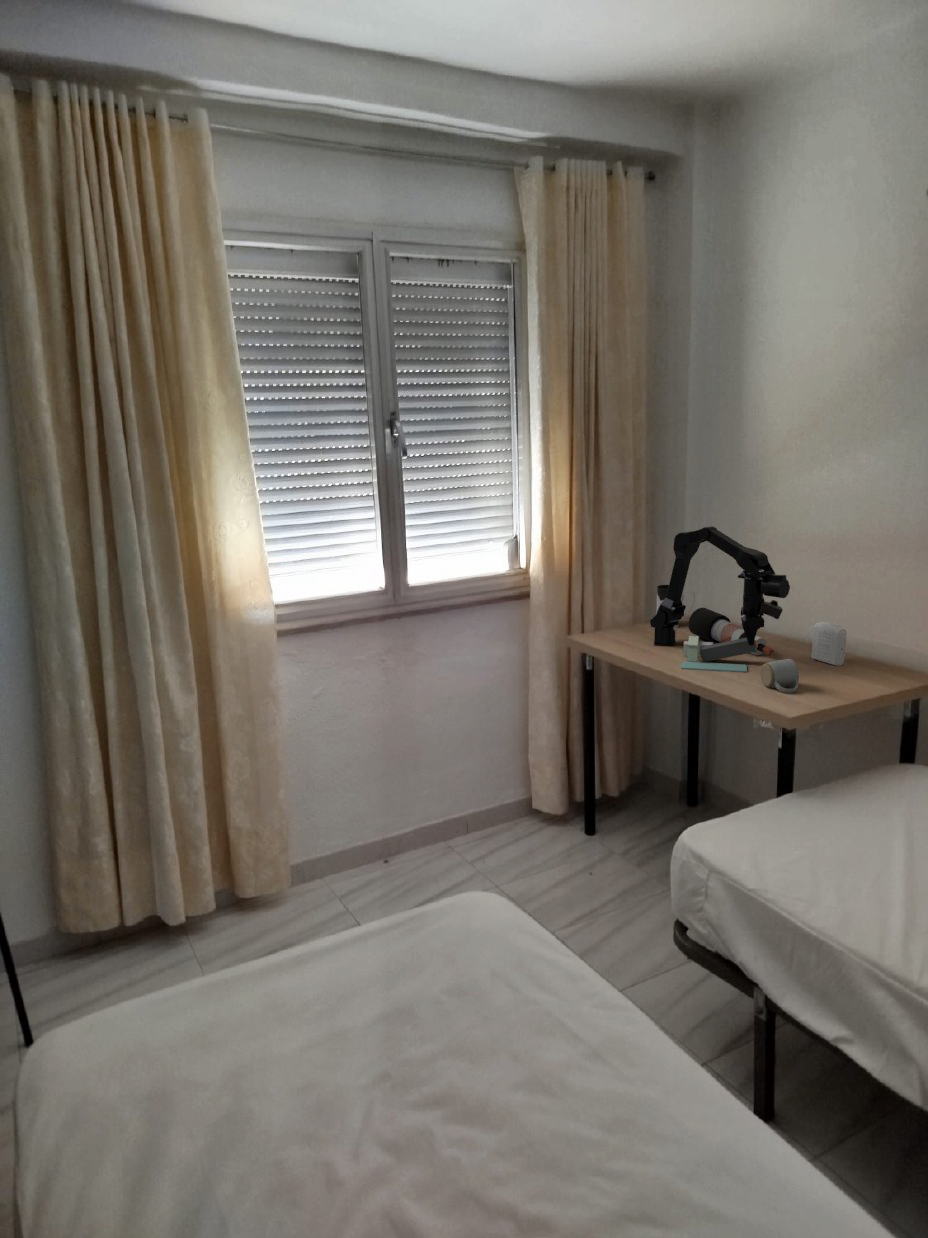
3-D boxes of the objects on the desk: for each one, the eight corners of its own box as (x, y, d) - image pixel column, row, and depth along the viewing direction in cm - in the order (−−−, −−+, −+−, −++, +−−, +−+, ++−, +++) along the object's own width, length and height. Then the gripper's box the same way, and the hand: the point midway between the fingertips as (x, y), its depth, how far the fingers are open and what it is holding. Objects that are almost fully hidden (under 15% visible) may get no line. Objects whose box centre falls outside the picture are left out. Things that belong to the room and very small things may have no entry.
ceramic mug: (757, 683, 226) (758, 657, 225) (783, 681, 228) (785, 655, 226) (778, 695, 216) (780, 668, 214) (805, 693, 218) (807, 666, 216)
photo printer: (846, 664, 242) (849, 625, 240) (836, 666, 241) (839, 626, 238) (818, 657, 251) (821, 618, 249) (809, 658, 250) (811, 620, 247)
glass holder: (657, 622, 304) (657, 584, 301) (695, 625, 299) (696, 585, 295) (652, 627, 296) (653, 588, 293) (692, 630, 291) (693, 589, 288)
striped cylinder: (763, 673, 252) (756, 648, 247) (692, 640, 280) (685, 617, 276) (786, 655, 254) (779, 631, 249) (714, 624, 283) (706, 602, 278)
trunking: (683, 656, 257) (683, 644, 256) (683, 652, 261) (684, 641, 260) (712, 657, 254) (712, 645, 253) (712, 654, 258) (712, 642, 257)
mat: (681, 668, 243) (681, 667, 243) (682, 662, 250) (682, 661, 249) (747, 672, 237) (747, 671, 237) (746, 666, 244) (746, 664, 244)
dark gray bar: (700, 662, 250) (697, 650, 249) (700, 659, 253) (697, 647, 253) (758, 651, 244) (755, 638, 243) (758, 648, 247) (755, 635, 247)
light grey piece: (687, 662, 249) (687, 645, 248) (688, 651, 262) (689, 635, 261) (697, 663, 248) (697, 645, 247) (698, 652, 261) (698, 635, 260)
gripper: (783, 600, 231) (780, 652, 235) (779, 588, 249) (776, 637, 252) (743, 599, 235) (740, 650, 238) (741, 588, 252) (739, 635, 255)
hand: (750, 643), depth 246 cm, fingers closed on dark gray bar, 4 cm apart
